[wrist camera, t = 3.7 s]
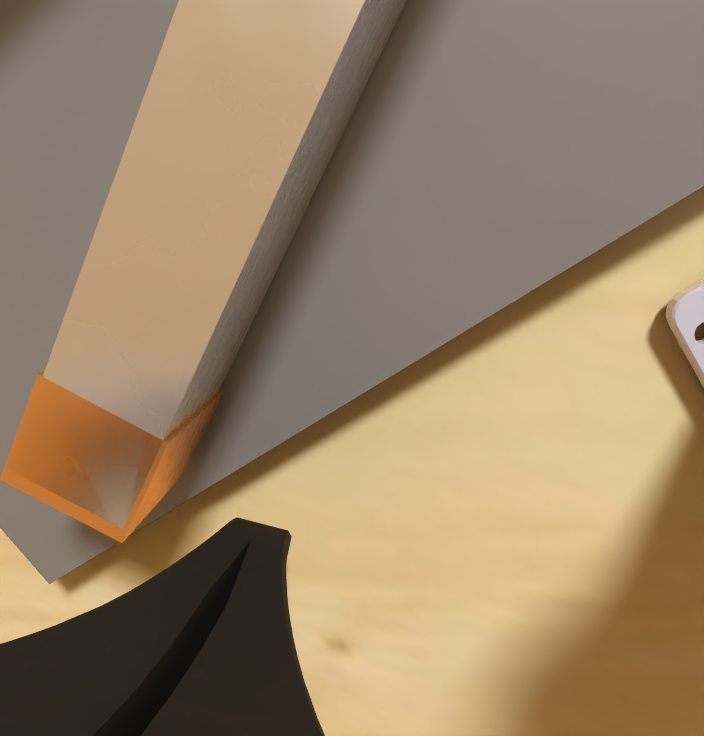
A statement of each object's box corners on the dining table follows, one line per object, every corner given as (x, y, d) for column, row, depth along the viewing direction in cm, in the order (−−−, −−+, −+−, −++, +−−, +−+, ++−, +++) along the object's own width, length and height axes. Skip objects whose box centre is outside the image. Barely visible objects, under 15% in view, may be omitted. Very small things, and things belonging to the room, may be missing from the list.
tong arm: (431, -426, 8) (440, -752, 6) (575, -338, 9) (657, -617, 6) (89, 421, 13) (-1, 479, 10) (184, 472, 13) (122, 543, 10)
